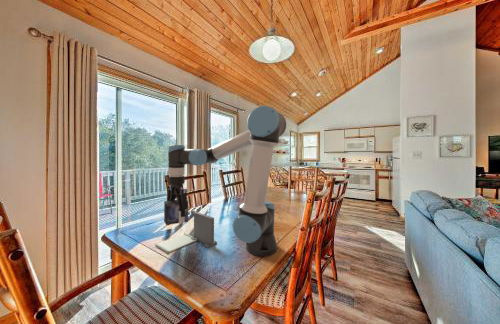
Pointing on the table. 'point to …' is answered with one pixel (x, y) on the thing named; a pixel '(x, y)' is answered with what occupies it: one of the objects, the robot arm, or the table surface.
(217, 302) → the table surface
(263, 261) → the table surface
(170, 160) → the robot arm
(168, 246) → the pad
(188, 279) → the table surface
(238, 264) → the table surface
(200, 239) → the screen
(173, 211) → the small box
